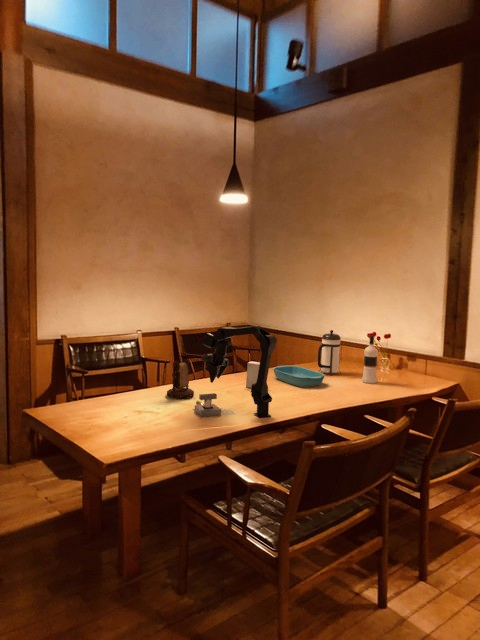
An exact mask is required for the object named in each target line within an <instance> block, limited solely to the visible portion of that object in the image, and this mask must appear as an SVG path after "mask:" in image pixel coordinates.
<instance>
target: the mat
mask: <svg viewBox="0 0 480 640" xmlns="http://www.w3.org/2000/svg"><path fill="white" fill-rule="evenodd" d="M221 414H223V415H224V416H234V415H236V413H235V412H234V411H233V410H231V409H224V410H222V409H221Z"/></svg>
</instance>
